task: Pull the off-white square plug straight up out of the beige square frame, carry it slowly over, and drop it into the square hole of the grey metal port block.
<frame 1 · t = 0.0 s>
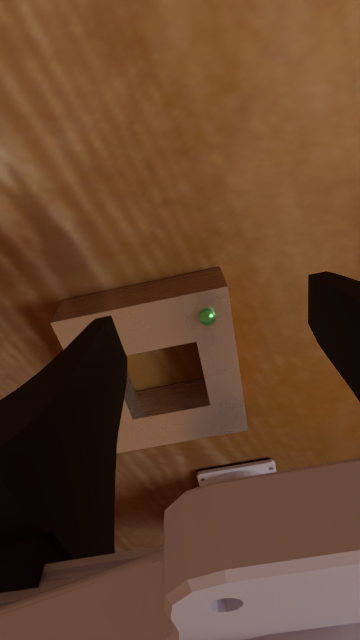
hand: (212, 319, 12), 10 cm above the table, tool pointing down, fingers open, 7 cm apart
port block: (162, 357, 25), on the table
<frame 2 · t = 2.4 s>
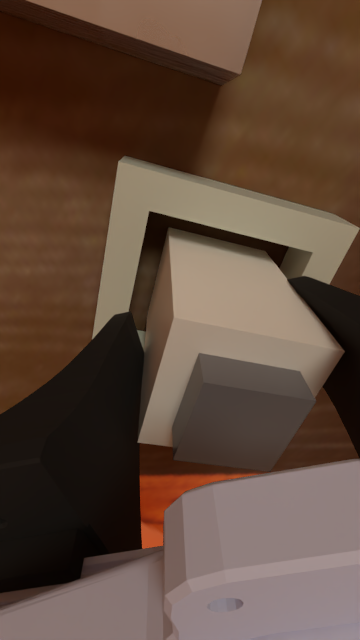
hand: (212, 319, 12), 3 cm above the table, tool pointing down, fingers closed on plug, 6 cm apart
beige square frame: (203, 284, 14), on the table
plug: (203, 284, 14), resting in beige square frame, touching gripper
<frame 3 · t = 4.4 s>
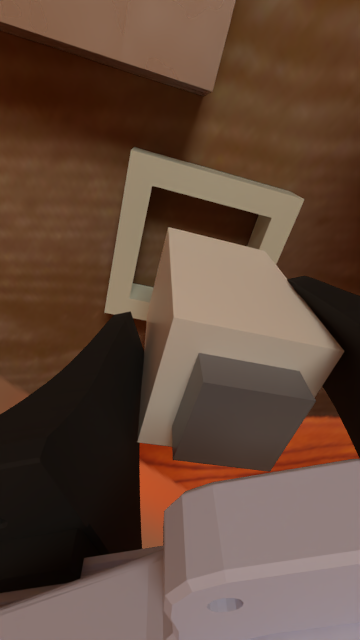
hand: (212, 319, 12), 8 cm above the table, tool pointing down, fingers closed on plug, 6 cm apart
beige square frame: (193, 247, 19), on the table
plug: (203, 284, 14), point 5 cm above the table, touching gripper
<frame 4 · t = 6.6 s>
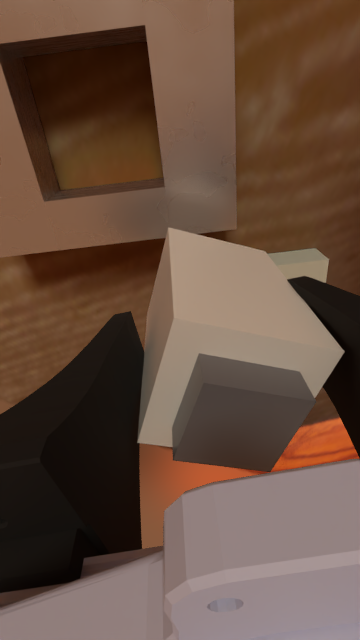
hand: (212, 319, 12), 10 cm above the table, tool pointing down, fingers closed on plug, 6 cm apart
beige square frame: (250, 311, 23), on the table
port block: (99, 123, 17), on the table
plug: (203, 284, 14), point 7 cm above the table, touching gripper
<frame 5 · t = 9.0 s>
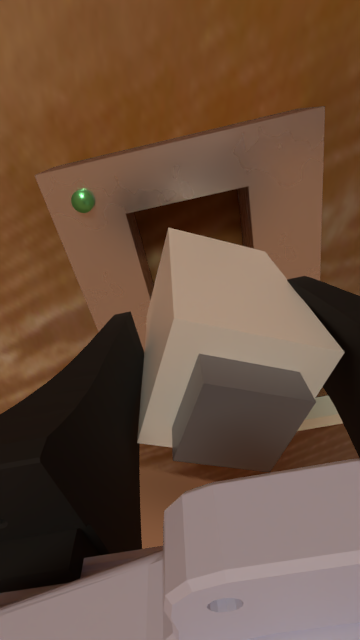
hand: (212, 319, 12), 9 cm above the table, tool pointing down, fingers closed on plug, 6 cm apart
beige square frame: (320, 370, 26), on the table
port block: (192, 240, 20), on the table
plug: (203, 284, 14), point 6 cm above the table, touching gripper
when the fingers open (4 cm above the table, at t = 10.9 s): plug drops 2 cm, resting in port block.
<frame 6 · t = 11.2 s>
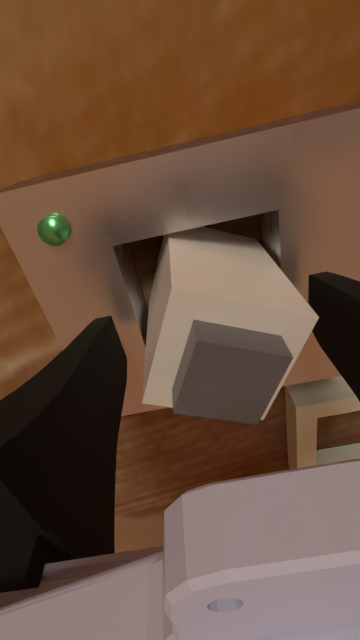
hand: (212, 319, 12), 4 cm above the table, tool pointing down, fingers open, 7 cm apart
beige square frame: (349, 416, 22), on the table
port block: (199, 271, 16), on the table
plug: (200, 271, 16), resting in port block
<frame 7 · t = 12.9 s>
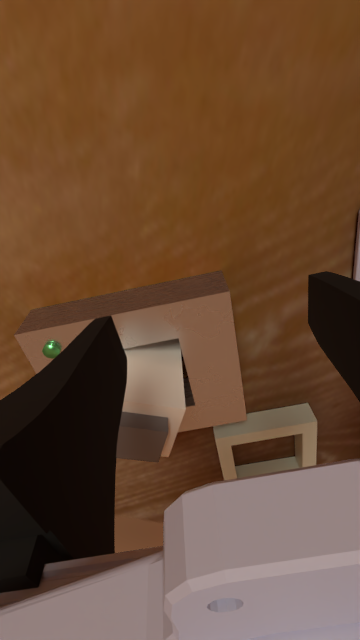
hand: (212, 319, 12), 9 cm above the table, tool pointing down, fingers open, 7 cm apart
beige square frame: (262, 442, 30), on the table
port block: (145, 354, 24), on the table
plug: (145, 354, 24), resting in port block
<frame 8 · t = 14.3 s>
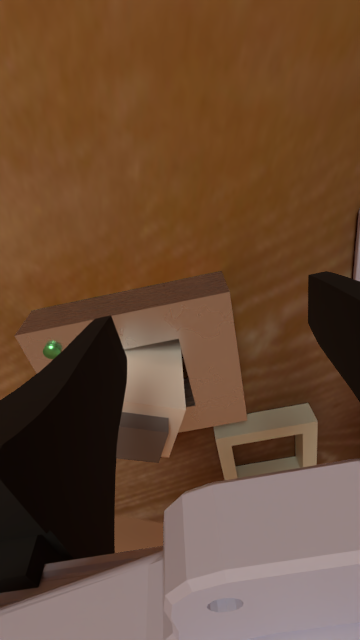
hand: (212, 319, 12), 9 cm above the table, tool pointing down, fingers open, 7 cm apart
beige square frame: (263, 442, 30), on the table
port block: (145, 355, 24), on the table
plug: (146, 354, 24), resting in port block
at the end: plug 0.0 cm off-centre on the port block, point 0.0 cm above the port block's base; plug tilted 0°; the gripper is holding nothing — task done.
